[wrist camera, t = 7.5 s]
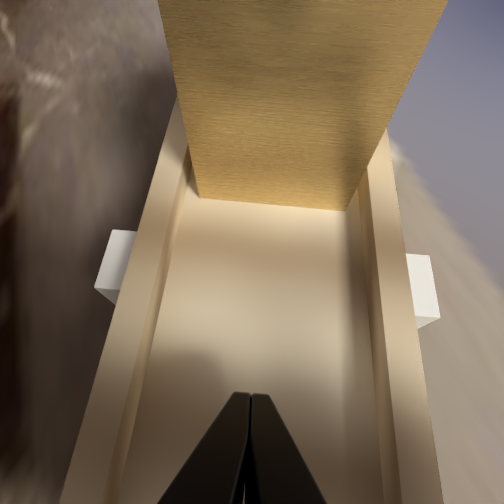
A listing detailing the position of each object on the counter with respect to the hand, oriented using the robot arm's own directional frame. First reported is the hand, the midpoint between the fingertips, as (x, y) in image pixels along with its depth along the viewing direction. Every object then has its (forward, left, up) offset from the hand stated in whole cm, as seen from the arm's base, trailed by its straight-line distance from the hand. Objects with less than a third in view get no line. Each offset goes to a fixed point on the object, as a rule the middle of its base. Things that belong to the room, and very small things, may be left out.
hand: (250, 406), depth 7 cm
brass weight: (+11, -3, -3) cm, 11 cm away
